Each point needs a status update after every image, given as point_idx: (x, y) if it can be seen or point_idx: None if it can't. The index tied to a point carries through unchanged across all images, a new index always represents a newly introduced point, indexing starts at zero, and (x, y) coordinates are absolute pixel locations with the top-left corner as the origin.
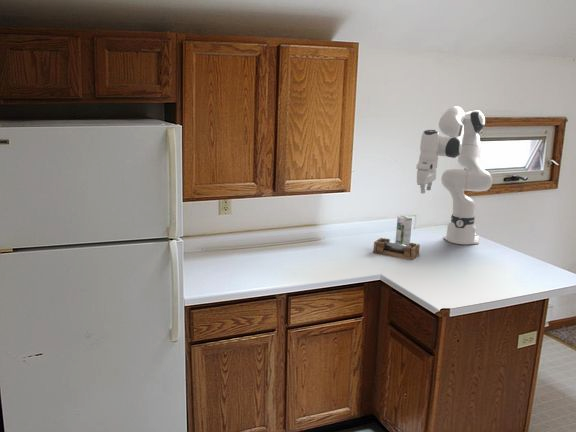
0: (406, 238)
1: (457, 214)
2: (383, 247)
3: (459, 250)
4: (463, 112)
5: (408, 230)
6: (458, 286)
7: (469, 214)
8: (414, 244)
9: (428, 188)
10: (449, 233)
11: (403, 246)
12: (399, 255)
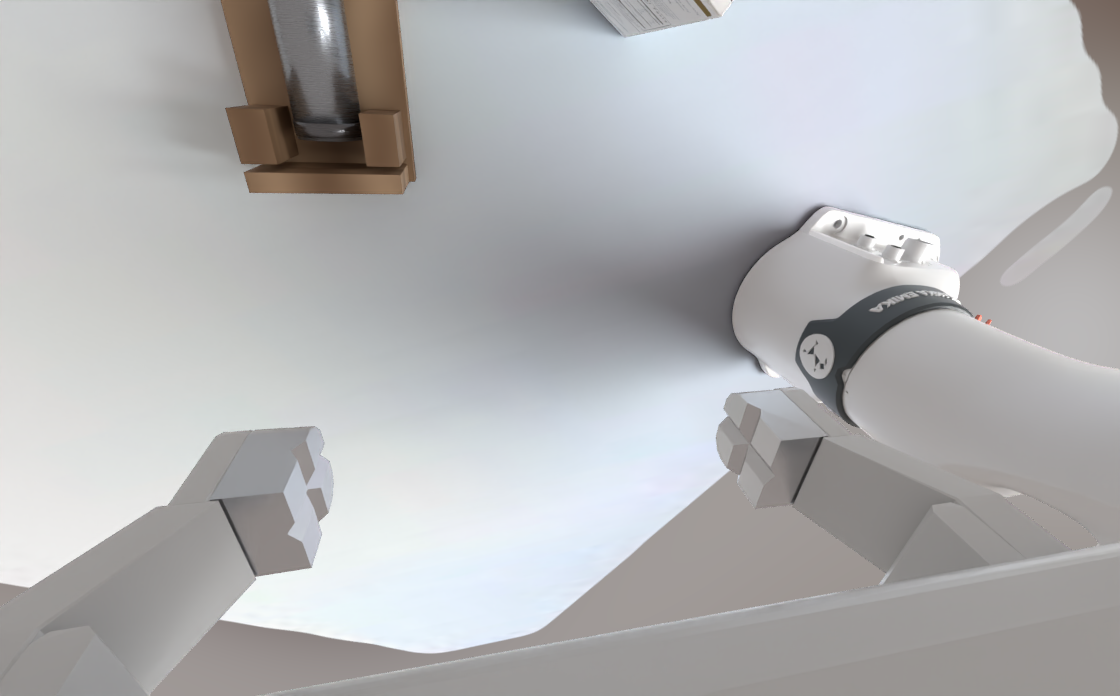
0: (611, 5)
1: (874, 367)
2: None
3: (629, 337)
4: None
5: (644, 7)
6: (76, 482)
7: (867, 432)
8: (368, 159)
9: (748, 449)
10: (809, 262)
11: (290, 77)
12: (239, 67)
